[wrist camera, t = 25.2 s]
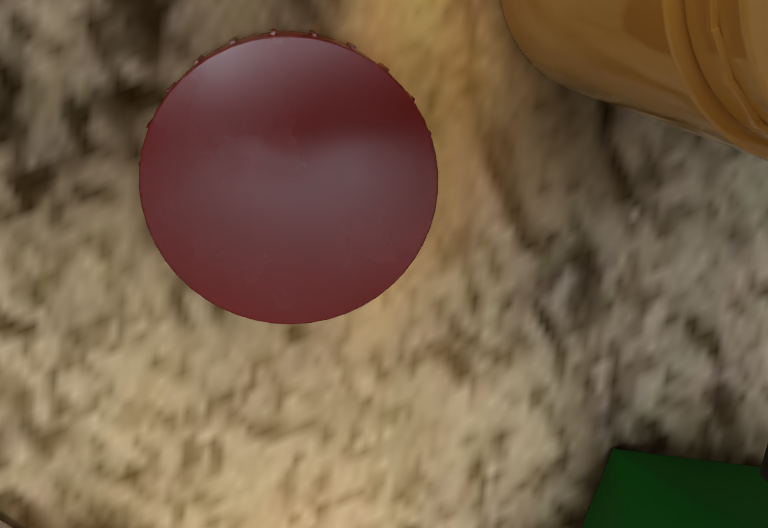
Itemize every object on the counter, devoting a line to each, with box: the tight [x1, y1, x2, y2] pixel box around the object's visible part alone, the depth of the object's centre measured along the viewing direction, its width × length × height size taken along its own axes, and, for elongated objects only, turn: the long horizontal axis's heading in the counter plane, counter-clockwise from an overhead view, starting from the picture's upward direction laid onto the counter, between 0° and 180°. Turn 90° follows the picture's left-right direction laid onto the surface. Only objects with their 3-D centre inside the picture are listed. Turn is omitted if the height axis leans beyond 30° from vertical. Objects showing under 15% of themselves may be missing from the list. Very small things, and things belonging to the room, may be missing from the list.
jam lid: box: [139, 28, 438, 324], centre depth 20 cm, size 8×8×2 cm
